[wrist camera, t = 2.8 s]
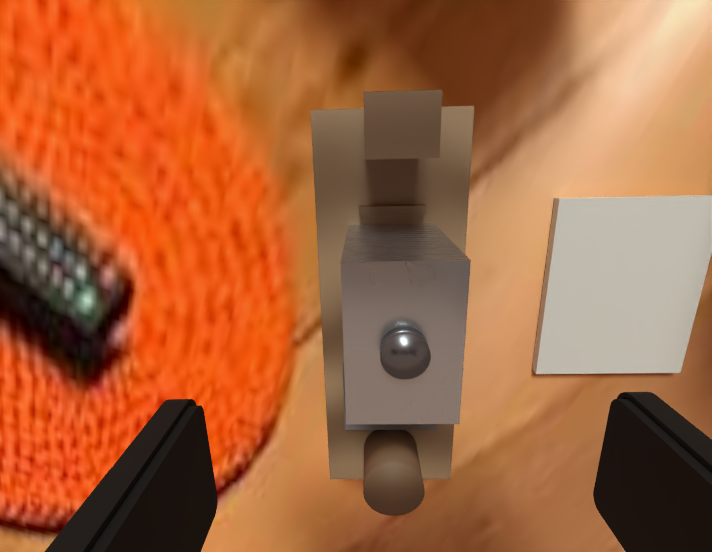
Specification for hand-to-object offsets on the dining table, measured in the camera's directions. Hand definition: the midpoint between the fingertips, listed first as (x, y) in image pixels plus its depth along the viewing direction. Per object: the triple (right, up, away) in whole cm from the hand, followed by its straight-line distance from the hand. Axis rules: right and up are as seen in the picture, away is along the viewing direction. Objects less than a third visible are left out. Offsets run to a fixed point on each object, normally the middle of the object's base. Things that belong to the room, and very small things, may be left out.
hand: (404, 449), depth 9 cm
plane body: (+1, +3, +15) cm, 15 cm away
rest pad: (+15, +3, +15) cm, 21 cm away
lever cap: (+1, +4, +10) cm, 11 cm away
